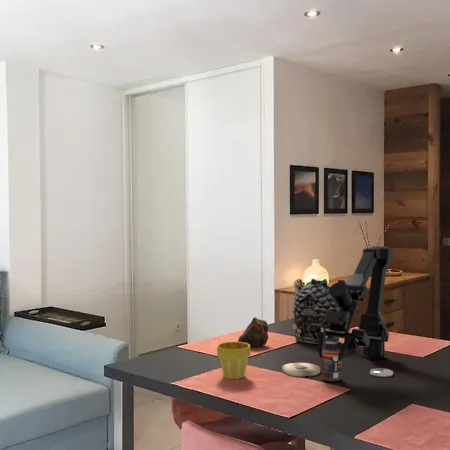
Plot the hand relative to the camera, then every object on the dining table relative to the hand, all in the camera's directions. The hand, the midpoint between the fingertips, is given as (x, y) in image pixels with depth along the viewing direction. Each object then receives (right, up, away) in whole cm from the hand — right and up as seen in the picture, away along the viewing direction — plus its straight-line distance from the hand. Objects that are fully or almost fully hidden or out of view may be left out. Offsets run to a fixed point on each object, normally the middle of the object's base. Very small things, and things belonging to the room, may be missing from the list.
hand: (329, 358), depth 174 cm
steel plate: (+18, -7, +7) cm, 20 cm away
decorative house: (+5, -6, +54) cm, 54 cm away
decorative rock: (-20, -6, +47) cm, 51 cm away
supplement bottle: (+1, -7, +1) cm, 7 cm away
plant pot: (-29, -7, +6) cm, 30 cm away
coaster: (-7, -7, +11) cm, 15 cm away
